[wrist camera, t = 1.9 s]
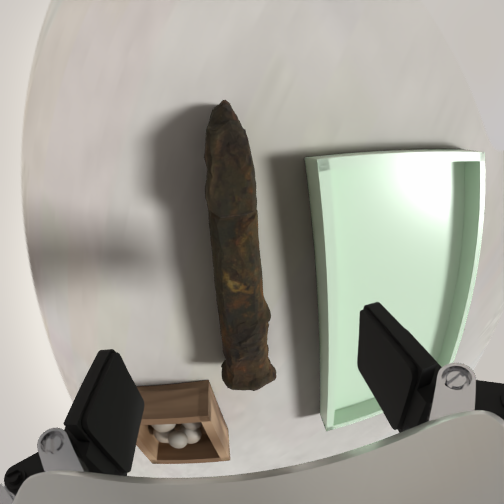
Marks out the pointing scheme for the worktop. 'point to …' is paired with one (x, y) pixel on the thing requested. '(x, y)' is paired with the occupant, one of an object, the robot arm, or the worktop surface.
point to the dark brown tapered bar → (236, 252)
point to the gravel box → (182, 424)
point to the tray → (391, 257)
